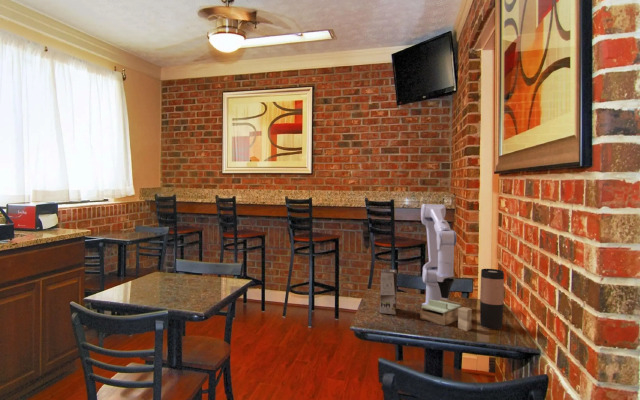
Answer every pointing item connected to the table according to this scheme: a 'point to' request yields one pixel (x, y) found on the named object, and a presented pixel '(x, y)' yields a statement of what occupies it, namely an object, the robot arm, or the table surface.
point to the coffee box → (388, 291)
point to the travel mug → (491, 298)
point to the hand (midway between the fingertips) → (444, 297)
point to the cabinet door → (440, 306)
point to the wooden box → (440, 315)
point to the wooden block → (464, 318)
